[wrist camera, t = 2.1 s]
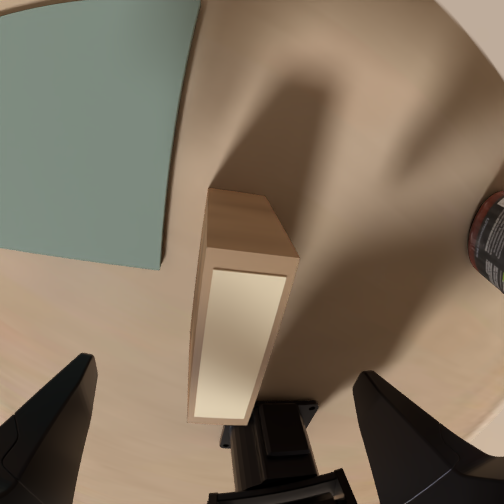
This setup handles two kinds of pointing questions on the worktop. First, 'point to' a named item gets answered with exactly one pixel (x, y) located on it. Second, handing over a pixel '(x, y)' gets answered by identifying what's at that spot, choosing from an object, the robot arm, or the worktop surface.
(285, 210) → the worktop surface
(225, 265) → the slab
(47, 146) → the mat
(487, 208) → the supplement bottle
